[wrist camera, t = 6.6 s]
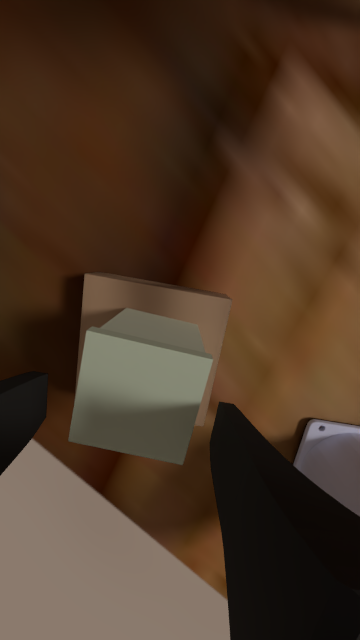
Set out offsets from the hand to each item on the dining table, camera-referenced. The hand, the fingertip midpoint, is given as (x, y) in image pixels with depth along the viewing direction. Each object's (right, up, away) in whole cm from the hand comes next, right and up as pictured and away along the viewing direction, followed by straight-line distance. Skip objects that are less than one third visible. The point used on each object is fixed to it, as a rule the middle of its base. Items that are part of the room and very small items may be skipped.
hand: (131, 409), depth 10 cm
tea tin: (0, +2, +5) cm, 6 cm away
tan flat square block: (0, +2, +8) cm, 9 cm away
